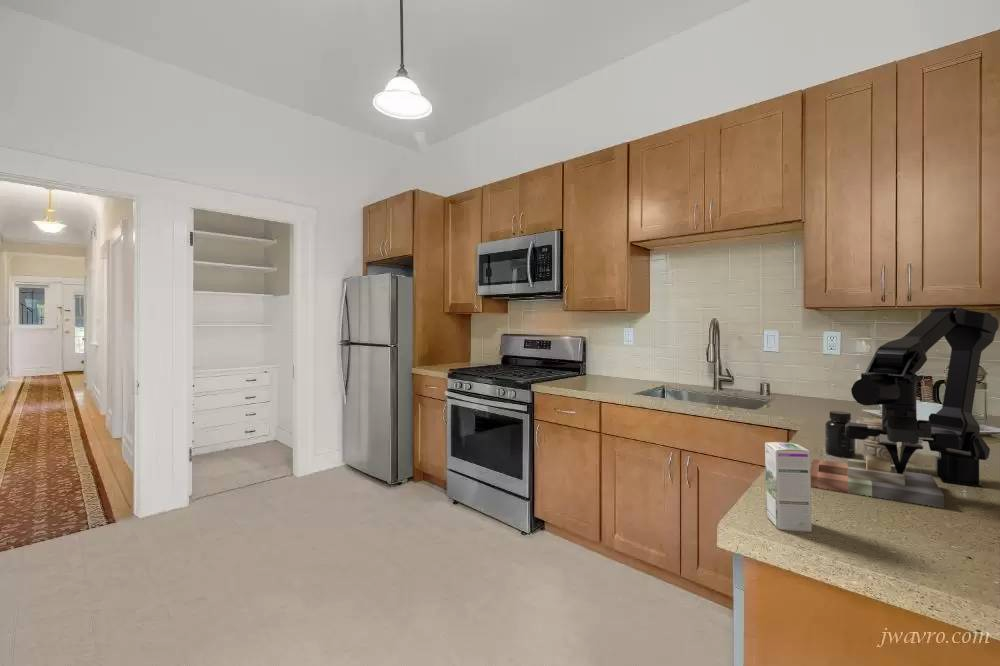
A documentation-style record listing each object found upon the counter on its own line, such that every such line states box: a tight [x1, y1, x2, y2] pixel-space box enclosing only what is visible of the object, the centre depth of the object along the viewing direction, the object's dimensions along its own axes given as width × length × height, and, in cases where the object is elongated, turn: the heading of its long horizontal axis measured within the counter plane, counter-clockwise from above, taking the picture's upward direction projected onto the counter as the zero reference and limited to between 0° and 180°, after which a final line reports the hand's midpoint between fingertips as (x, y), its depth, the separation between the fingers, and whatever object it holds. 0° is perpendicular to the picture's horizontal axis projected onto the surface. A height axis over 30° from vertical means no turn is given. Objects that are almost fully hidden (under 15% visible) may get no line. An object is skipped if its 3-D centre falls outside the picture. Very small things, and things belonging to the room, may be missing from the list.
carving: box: [859, 417, 899, 465], centre depth 117 cm, size 6×8×12 cm
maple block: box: [866, 455, 891, 472], centre depth 101 cm, size 4×4×4 cm
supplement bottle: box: [824, 410, 856, 459], centre depth 128 cm, size 7×7×12 cm
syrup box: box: [764, 441, 813, 533], centre depth 83 cm, size 6×6×14 cm
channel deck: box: [810, 458, 945, 510], centre depth 102 cm, size 22×16×4 cm
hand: (899, 474), depth 99 cm, fingers closed
